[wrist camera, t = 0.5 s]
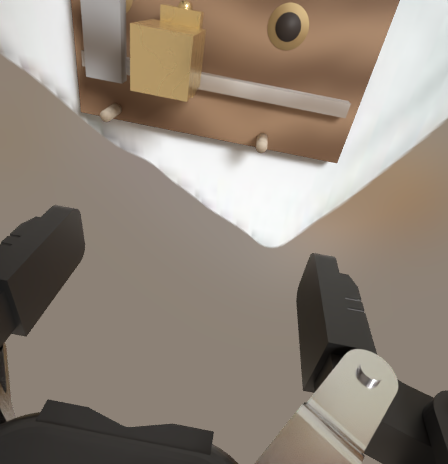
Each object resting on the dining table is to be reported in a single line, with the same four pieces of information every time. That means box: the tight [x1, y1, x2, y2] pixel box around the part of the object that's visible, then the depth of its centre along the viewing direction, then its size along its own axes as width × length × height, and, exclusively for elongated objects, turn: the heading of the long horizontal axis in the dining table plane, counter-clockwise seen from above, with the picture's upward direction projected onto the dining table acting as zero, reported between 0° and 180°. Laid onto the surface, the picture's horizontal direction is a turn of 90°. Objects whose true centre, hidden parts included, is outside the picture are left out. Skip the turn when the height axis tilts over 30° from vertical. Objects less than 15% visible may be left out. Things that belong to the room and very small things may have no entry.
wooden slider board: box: [71, 0, 400, 163], centre depth 28 cm, size 14×25×4 cm, turn 81°
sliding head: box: [130, 0, 206, 102], centre depth 25 cm, size 6×4×7 cm, turn 171°
